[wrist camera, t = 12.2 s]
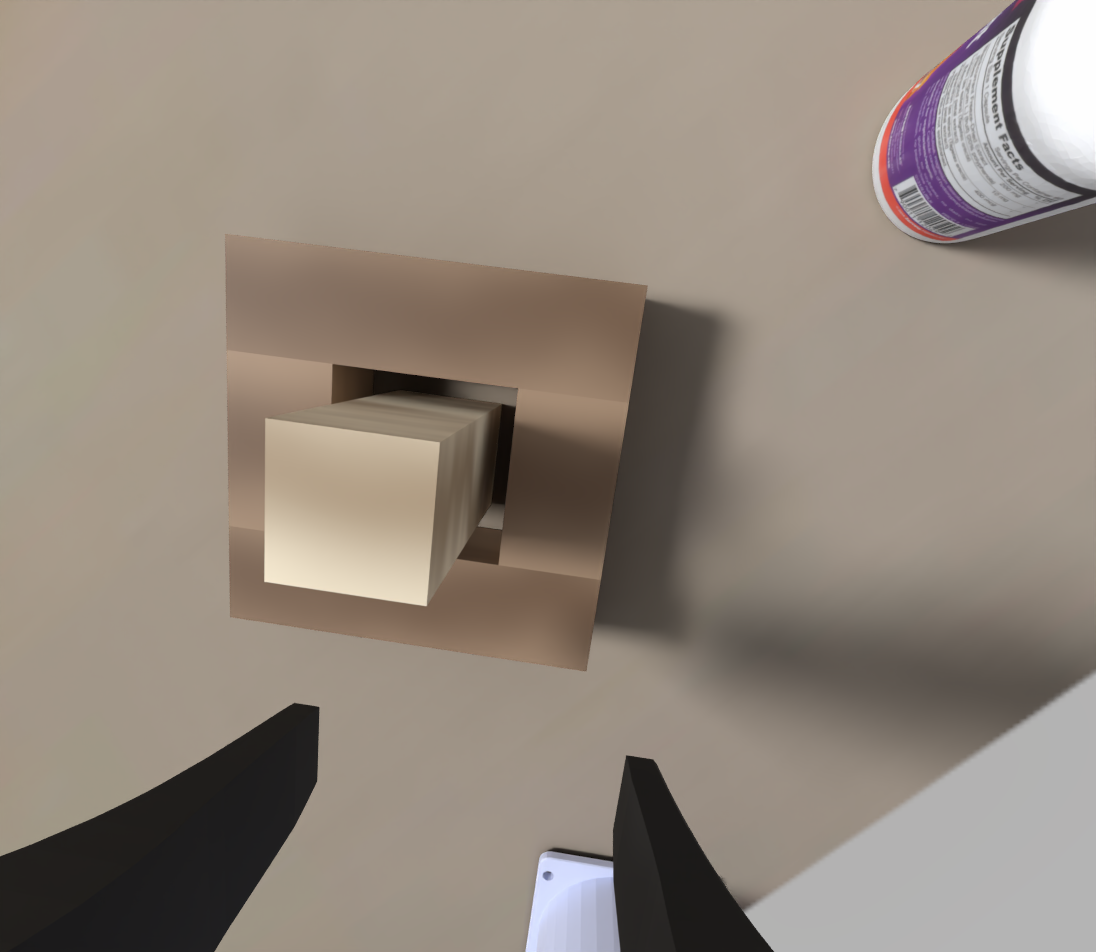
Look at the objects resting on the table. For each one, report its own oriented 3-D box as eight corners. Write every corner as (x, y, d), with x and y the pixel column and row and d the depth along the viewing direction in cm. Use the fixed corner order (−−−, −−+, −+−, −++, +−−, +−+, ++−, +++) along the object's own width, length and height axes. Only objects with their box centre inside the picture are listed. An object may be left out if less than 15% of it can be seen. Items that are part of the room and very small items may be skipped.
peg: (491, 503, 22) (426, 606, 13) (393, 489, 22) (264, 581, 13) (502, 403, 21) (439, 442, 12) (399, 389, 21) (265, 418, 12)
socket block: (586, 623, 23) (586, 671, 19) (282, 577, 23) (230, 617, 20) (637, 296, 20) (647, 285, 16) (286, 253, 20) (225, 233, 17)
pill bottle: (1040, 46, 17) (1605, -332, 8) (1039, 227, 18) (1527, 95, 9) (861, 87, 18) (1175, -218, 8) (869, 260, 19) (1155, 169, 9)
